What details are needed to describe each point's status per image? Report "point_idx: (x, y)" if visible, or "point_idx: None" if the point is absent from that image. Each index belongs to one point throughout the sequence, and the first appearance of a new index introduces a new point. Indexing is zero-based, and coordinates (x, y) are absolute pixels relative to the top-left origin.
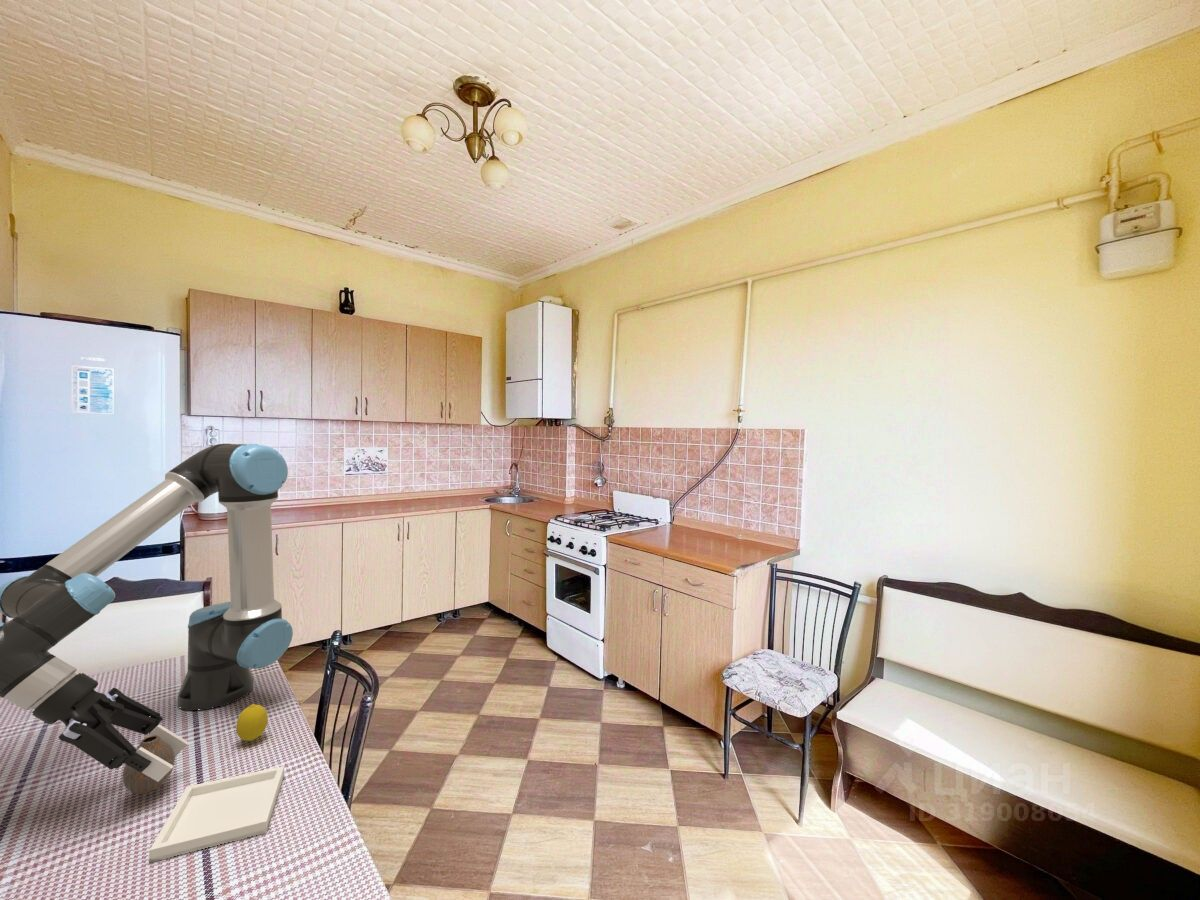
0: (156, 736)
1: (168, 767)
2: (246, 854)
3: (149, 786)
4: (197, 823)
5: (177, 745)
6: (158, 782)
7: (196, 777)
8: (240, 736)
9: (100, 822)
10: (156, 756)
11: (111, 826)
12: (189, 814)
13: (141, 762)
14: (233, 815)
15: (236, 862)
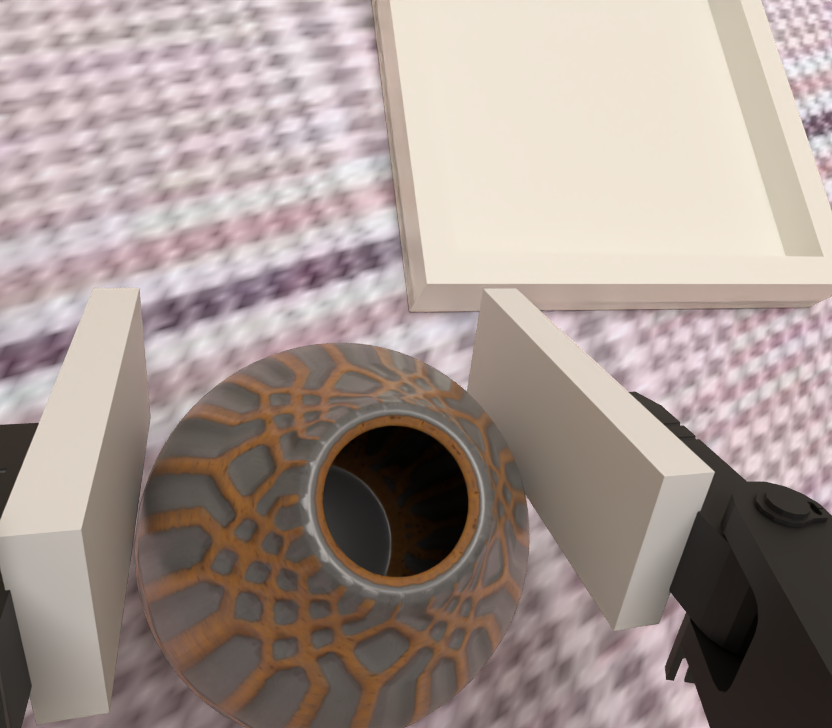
0: (343, 441)
1: (529, 303)
2: (789, 27)
3: (442, 480)
4: (651, 190)
5: (139, 365)
6: (417, 435)
7: (203, 324)
8: None
9: (519, 704)
10: (563, 362)
11: (567, 609)
12: (586, 239)
13: (689, 435)
14: (626, 73)
15: (817, 49)
